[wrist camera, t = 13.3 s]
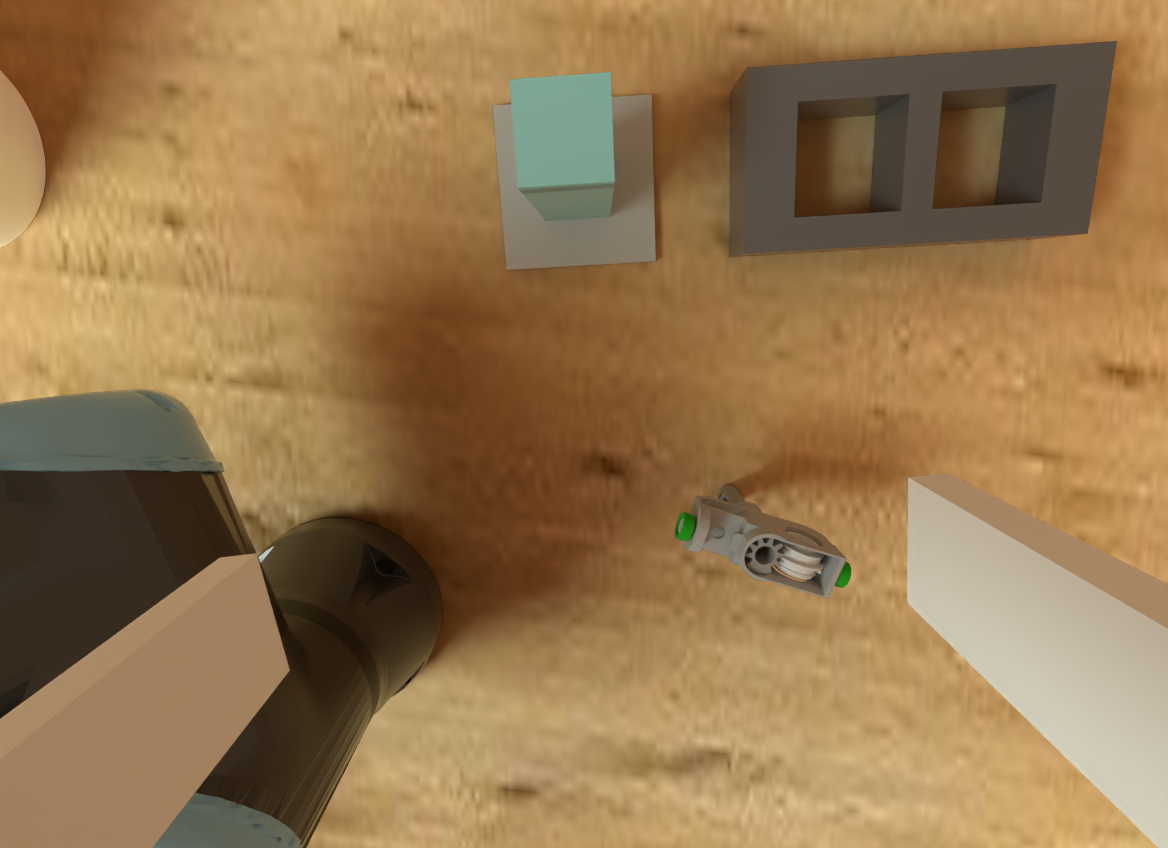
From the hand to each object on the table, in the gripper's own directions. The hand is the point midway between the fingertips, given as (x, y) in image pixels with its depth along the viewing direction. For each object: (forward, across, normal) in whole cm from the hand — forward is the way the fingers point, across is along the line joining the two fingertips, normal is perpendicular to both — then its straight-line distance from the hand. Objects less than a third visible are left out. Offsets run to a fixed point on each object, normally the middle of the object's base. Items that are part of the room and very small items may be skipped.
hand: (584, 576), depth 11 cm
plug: (+29, +1, +12) cm, 31 cm away
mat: (+29, +1, +12) cm, 32 cm away
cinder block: (+29, +21, +11) cm, 37 cm away
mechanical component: (+29, +9, -10) cm, 33 cm away
